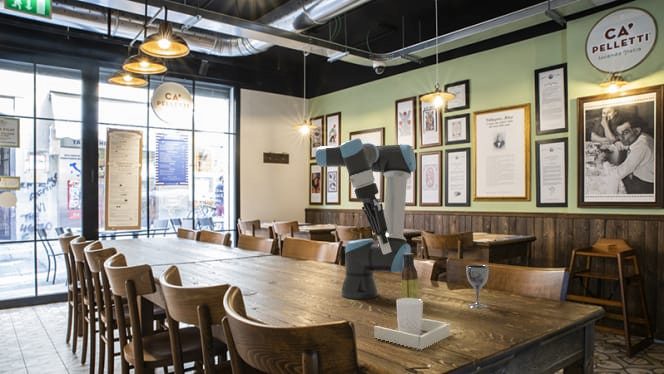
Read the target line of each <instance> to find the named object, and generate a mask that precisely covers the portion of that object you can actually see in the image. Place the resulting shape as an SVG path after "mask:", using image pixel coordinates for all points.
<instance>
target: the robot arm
mask: <svg viewBox="0 0 664 374" xmlns="http://www.w3.org/2000/svg"><path fill="white" fill-rule="evenodd" d="M415 155H416V154H415V151H414V149H413V146H411V145H410V144H401V143H400V144H391V145H387V144H386V145H375V144H373V143H368V142H367V143H363V142H362V139H360V138H358V137H357V138H354V139H351V140H348V141H345V142H343V143H341V144H340V145H324V146H323V145H322V146H319V147H317V148H316V150H315V162H316V164H317V166H319V167H322V168H330V167H332V168H334V167H335V168H342V167H343V168H346V170H347V173H348V177H349V178H350V179H349V182H350V183H351V185H352V187H353V188H354V194H355V197H356V200H358V201H360V200H362V203H363V205H362V207H361V210H362V212H363V213H364V215H365V218H366V221H367V222H368V225H369V227H370V229H371V231H372V233H373V234H374V235H376V237H377V242H375V241H374V238H362V239H355V240H349V241H347V243H346V244H345V251H344V254H345V258H344V259H345V263H344V264H345V275H344V276H345V277H344V280H343V284H342V288H341V291H340V292H341V293H340V294H341V296H342V297H344V298H346V299H347V298H348V299H355V300H368V299H374V298H376V297H378V293H379V292H378V288H377V285H376V284H377V283H376V280H375V278H374V277H375V276H374V272H382V273H383V272H384V273H392V274H396V273H397V274H398V273H400V274H401V271H402V269H403V267H404V258H403V254H404V253H412V252H411V251H412V249H411V245H410V244H408V243H407V239H406V237H405V236H404V228H405V213H406V199H407V184H408V180H409V179H410V178H411V177H412V173H413V172H415V171H416V170H417V169H416V168H417V161H416V156H415ZM373 172H374V173H383V177H384V178H386V182H385V194H384V195H385V196H384V207H383V203H381V202H380V203H379V201H378V198H377V197H376V195H378V193H379V188H378V186H377V183H376V182H375V180H376V179H375V176H374V173H373Z"/></svg>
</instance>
